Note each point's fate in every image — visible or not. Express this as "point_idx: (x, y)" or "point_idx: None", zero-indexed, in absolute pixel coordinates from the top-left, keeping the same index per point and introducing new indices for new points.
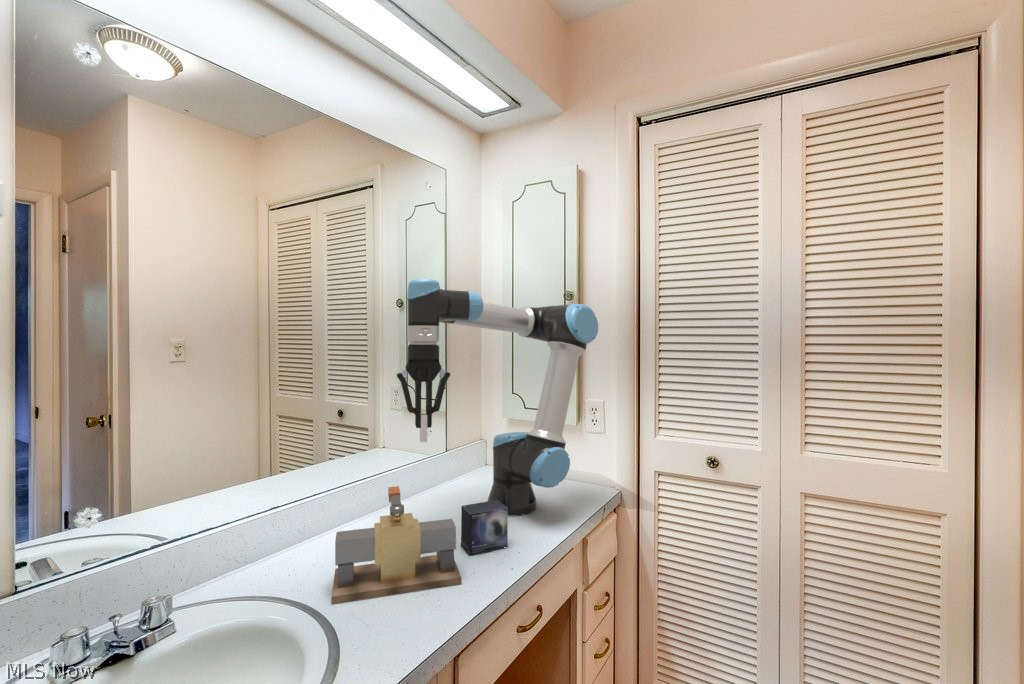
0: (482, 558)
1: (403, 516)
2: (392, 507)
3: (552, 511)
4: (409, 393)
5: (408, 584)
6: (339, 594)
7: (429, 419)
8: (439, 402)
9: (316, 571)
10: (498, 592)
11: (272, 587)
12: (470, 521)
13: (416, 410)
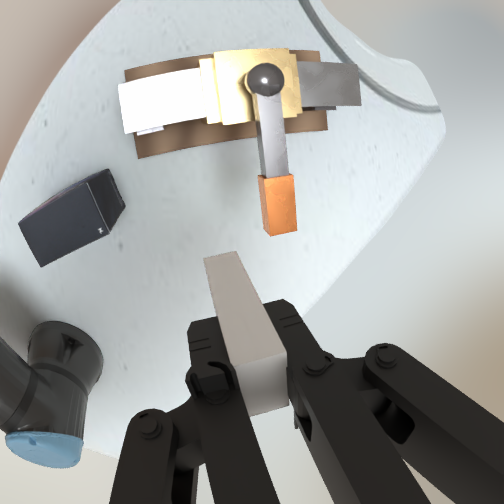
0: (87, 158)
1: (243, 103)
2: (277, 74)
3: (8, 330)
4: (480, 459)
5: (211, 55)
6: (310, 53)
7: (208, 357)
8: (128, 484)
9: (347, 148)
10: (75, 51)
11: (386, 119)
12: (91, 180)
13: (341, 373)
